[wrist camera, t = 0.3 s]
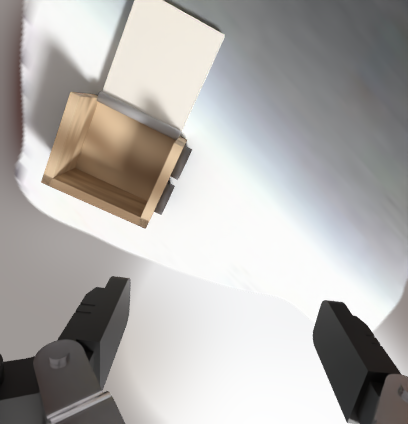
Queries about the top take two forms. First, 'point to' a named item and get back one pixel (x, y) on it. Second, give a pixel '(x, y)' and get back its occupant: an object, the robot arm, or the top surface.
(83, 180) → the truck bed
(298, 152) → the top surface
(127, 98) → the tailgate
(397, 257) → the top surface
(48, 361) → the robot arm
